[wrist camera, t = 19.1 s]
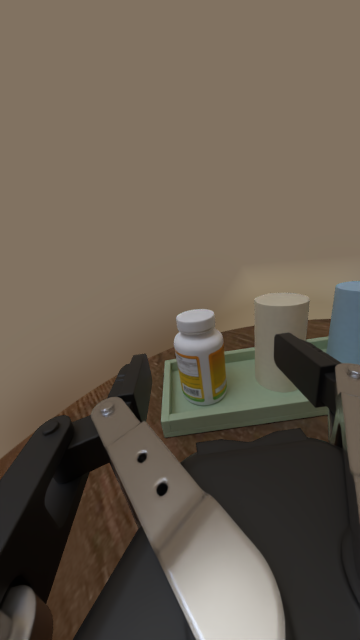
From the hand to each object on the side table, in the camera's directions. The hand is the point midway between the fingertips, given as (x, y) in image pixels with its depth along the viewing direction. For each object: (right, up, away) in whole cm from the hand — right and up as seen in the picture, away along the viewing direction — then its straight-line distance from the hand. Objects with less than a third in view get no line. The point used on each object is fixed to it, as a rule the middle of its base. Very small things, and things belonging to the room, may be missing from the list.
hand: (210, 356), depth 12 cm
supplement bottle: (+1, -6, +11) cm, 13 cm away
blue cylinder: (+19, -3, +11) cm, 22 cm away
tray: (+10, -5, +11) cm, 16 cm away
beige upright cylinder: (+10, -5, +11) cm, 16 cm away
